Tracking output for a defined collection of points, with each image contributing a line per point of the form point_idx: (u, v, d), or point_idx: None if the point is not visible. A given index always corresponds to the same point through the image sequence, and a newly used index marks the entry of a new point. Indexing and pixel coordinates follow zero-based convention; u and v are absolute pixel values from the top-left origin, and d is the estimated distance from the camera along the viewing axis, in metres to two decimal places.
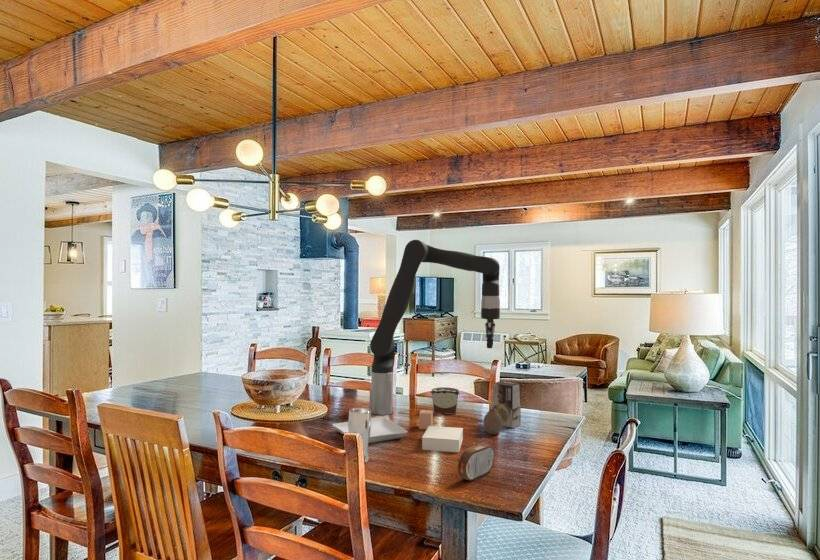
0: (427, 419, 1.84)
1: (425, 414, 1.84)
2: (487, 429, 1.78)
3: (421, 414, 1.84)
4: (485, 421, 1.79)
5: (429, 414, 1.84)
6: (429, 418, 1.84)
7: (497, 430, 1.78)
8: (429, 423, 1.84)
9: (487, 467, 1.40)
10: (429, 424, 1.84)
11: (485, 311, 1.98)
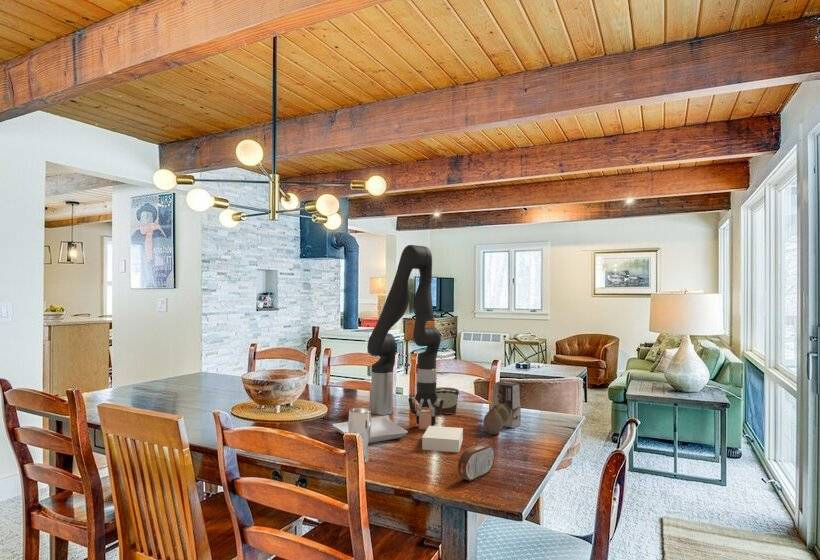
0: (427, 419, 1.84)
1: (425, 414, 1.84)
2: (487, 429, 1.78)
3: (421, 414, 1.84)
4: (485, 421, 1.79)
5: (429, 414, 1.84)
6: (429, 418, 1.84)
7: (497, 430, 1.78)
8: (429, 423, 1.84)
9: (487, 467, 1.40)
10: (429, 424, 1.84)
11: (434, 385, 1.84)
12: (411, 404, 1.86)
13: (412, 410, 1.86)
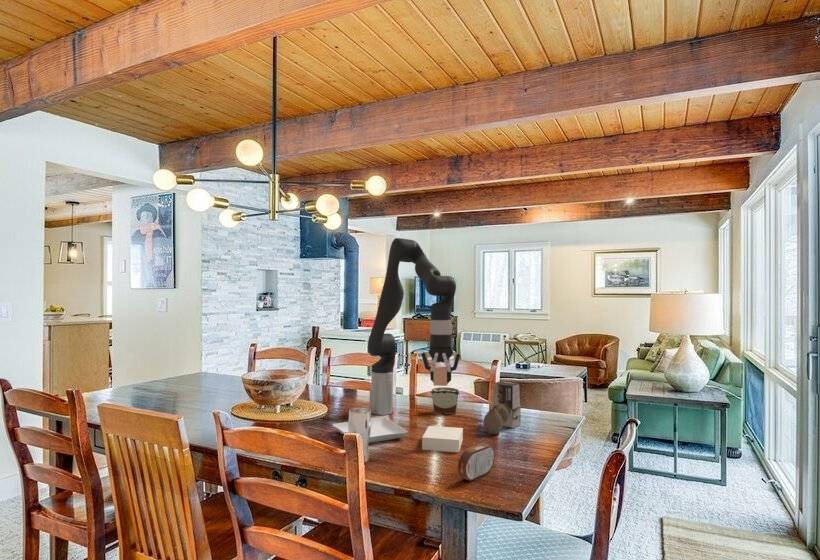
0: (442, 374, 1.68)
1: (440, 369, 1.69)
2: (487, 429, 1.78)
3: (436, 369, 1.69)
4: (485, 421, 1.79)
5: (444, 369, 1.68)
6: (444, 373, 1.68)
7: (497, 430, 1.78)
8: (444, 379, 1.68)
9: (487, 467, 1.40)
10: (444, 380, 1.68)
11: (450, 338, 1.69)
12: (424, 359, 1.71)
13: (426, 366, 1.71)
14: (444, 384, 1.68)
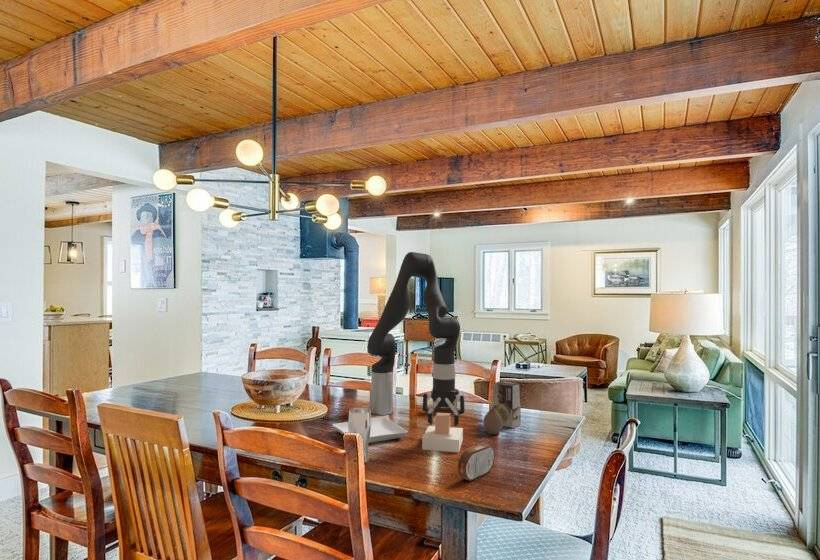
0: (444, 423, 1.64)
1: (442, 417, 1.64)
2: (487, 429, 1.78)
3: (437, 417, 1.64)
4: (485, 421, 1.79)
5: (446, 417, 1.64)
6: (446, 422, 1.64)
7: (497, 430, 1.78)
8: (446, 427, 1.64)
9: (487, 467, 1.40)
10: (446, 429, 1.63)
11: (453, 382, 1.64)
12: (425, 401, 1.66)
13: (423, 407, 1.66)
14: (446, 433, 1.63)
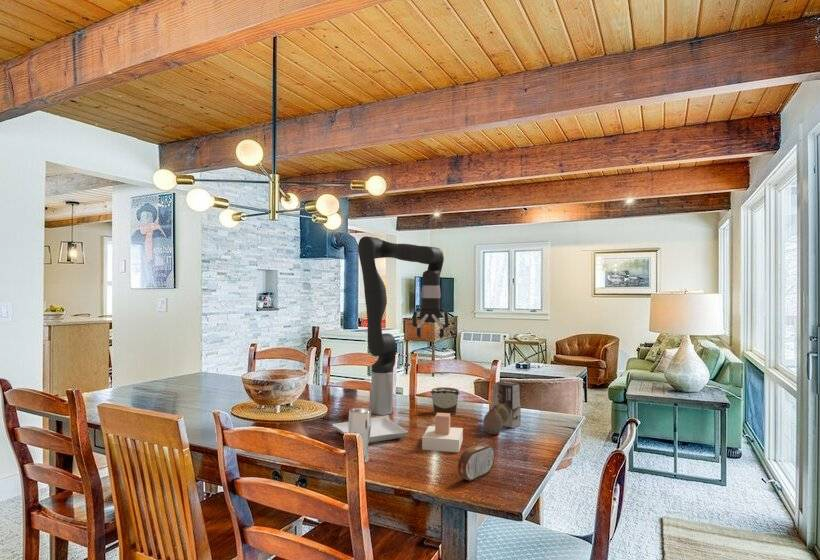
0: (444, 423, 1.64)
1: (442, 417, 1.64)
2: (487, 429, 1.78)
3: (437, 417, 1.64)
4: (485, 421, 1.79)
5: (446, 417, 1.64)
6: (446, 422, 1.64)
7: (497, 430, 1.78)
8: (446, 427, 1.64)
9: (487, 467, 1.40)
10: (446, 429, 1.63)
11: (438, 301, 1.93)
12: (414, 317, 1.95)
13: (413, 323, 1.95)
14: (446, 433, 1.63)
